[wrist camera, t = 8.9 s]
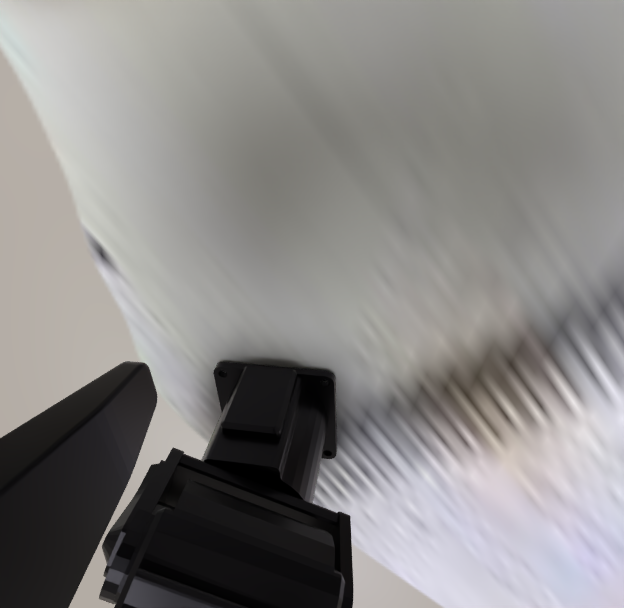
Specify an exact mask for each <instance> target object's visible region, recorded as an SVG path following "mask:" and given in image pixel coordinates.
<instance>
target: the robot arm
mask: <svg viewBox="0 0 624 608" xmlns="http://www.w3.org/2000/svg"><path fill="white" fill-rule="evenodd" d="M223 371H225V372H223ZM214 377H215V382H216V387H217V391H218V396H219V401H220V406H221V410H222V414H221V416H220V419H219V421H218V423H217V426H216V428H215V430H214V433H213V435H212V437H211V440H210V442H209V444H208V447H207V449H206V451H205V454H204V456H203V458H202V460H198V459H196V458H193V457H191V456H188V455H186V454H184V452H183V451H181V450H178V449H176V448H173V449H172V450H171V452H170V454H169V455H168V457H167V459H166V461H163V460H161V462H160V463H159V464H154V465H151V466H150V468H149V470H148V472H147V474H146V476H145V478H144V480H143V482H142V484H141V486H140V487H139V489H138V491H137V493H136V494H135V496H134V497H133V499H132V501H131V502H130V503H129V505H128V506H127V507H126V509H125V510H124V512H123V513H122V514H121V516H120V517H119V519H118V520H117V522H116V523H115V524H114V525H113V527H112V528H111V530H110V531H109V533H108V534H107V536H106V538H105V540H104V543H103V545H102V549H103V552H104V555H105V559H106V562H107V566H106V569H105V572H104V577H106V579H105V581H104V584H103V586H102V589H101V592H100V596H99V599H101V600H104V601H106V602H109V603H112V604H116V605H115V607H114V608H352V605H353V571H352V547H351V524H350V516H349V515H347V514H344V513H342V512H338V513H336V512H334V511H331V510H328V509H326V508H323V507H321V506H318V505H315V504H313V498H314V493H315V488H316V483H317V478H318V473H319V467H320V462H321V458H326V459H332V458H334V457H335V456H336V452H337V423H336V380H335V376H334V375H333V374H332V373H331V372H328V371H321V370H310V369H299V368H287V367H276V366H264V365H253V364H242V363H230V362H220V363H218V364H217V365H216V367H215V369H214ZM323 380H327V381H328V382H325V381H323ZM156 403H157V392H156V389H155V385H154V382H153V379H152V376H151V372H150V369H149V367H148V366H147V364H145V363H141V362H130V361H127V362H123V363H122V364H120V365H118V366H116V367H115V368H113V369H112V370H110V371H108V372H107V373H105V374H104V375H102V376H100V377H99V378H97V379H96V380H94V381H92V382H91V383H89V384H87V385H86V386H84V387H82V388H81V389H79V390H78V391H76V392H74V393H73V394H71V395H70V396H68V397H66V398H65V399H63V400H61V401H60V402H58V403H57V404H55V405H53V406H52V407H50V408H48V409H47V410H45V411H44V412H42V413H40V414H39V415H37V416H36V417H34V418H32V419H31V420H29V421H28V422H26V423H24V424H23V425H21V426H19V427H18V428H17V429H15V430H13V431H11V432H10V433H8V434H7V435H5V436H3V437H2V438H0V608H68V607H69V605H70V603H71V601H72V599H73V597H74V595H75V593H76V591H77V589H78V586H79V584H80V582H81V580H82V578H83V576H84V574H85V572H86V570H87V567H88V565H89V563H90V561H91V559H92V557H93V555H94V553H95V551H96V549H97V547H98V545H99V542H100V540H101V538H102V536H103V534H104V532H105V530H106V528H107V526H108V524H109V522H110V520H111V517H112V515H113V513H114V511H115V509H116V507H117V505H118V503H119V500H120V499H121V496H122V494H123V492H124V490H125V488H126V486H127V484H128V481H129V479H130V477H131V474H132V471H133V469H134V467H135V464H136V461H137V458H138V455H139V453H140V450H141V447H142V444H143V441H144V438H145V436H146V432H147V430H148V427H149V424H150V422H151V418H152V416H153V413H154V410H155V407H156Z"/></svg>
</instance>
